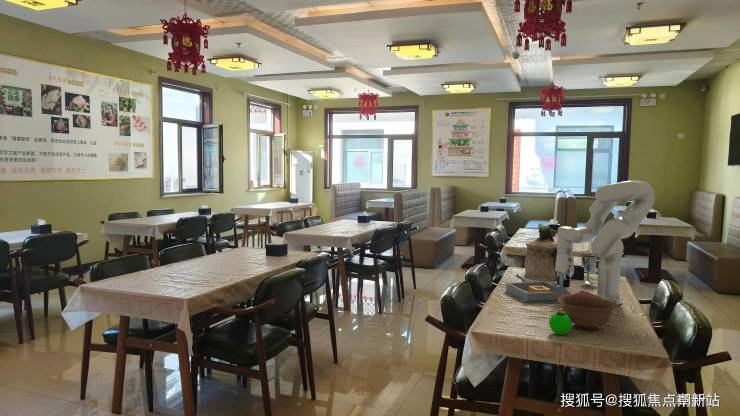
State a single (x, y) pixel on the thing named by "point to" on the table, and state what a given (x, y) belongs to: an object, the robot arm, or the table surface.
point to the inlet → (538, 289)
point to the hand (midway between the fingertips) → (563, 285)
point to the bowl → (587, 310)
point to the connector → (561, 281)
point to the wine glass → (588, 265)
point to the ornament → (560, 323)
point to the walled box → (522, 293)
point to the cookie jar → (541, 258)
